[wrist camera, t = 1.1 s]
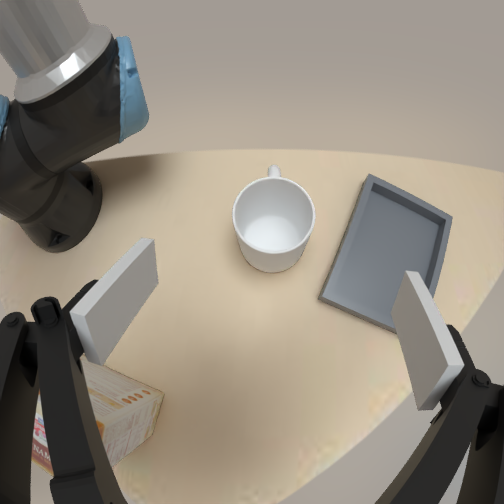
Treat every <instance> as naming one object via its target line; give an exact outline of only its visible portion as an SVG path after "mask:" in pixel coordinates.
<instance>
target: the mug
mask: <svg viewBox="0 0 504 504" xmlns="http://www.w3.org/2000/svg"><path fill="white" fill-rule="evenodd" d="M232 220H233V225H234V228H235V232H236V235H237V238H238V242H239V245H240V249H241V251H242V254H243V256H244V257H245V259H246V260H247V261H248V262H249V263H250V264H251V265H252V266H253V267H255V268H256V269H258V270H261V271H264V272H269V273H276V272H281V271H284V270H286V269H288V268H290V267H292V266H293V265H294V264H295V263H296V262H297V261H298V260H299V258H300V257H301V255H302V253H303V251H304V249H305V246H306V244H307V242H308V239H309V237H310V235H311V233H312V230H313V227H314V224H315V208H314V204H313V202H312V199H311V198H310V196H309V195H308V193H307V192H306V191H305V190H304V189H303V188H302V187H301V186H300V185H299V184H297V183H295V182H294V181H292V180H289V179H286V178H282V177H281V172H280V168H279V167H278V166H277V165H271V166H270V167H269V168H268V177H264V178H260V179H258V180H255V181H253V182H251V183H250V184H248V185H247V186H246V187H245V188H243V189H242V191H241V192H240V193H239V194H238V196H237V198H236V200H235V202H234V205H233V210H232Z"/></svg>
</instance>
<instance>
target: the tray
mask: <svg viewBox="0 0 504 504" xmlns="http://www.w3.org/2000/svg"><path fill="white" fill-rule="evenodd" d="M452 218H453V217H452V216H450V215H448V214H447V213H445V212H443V211H441V210H439V209H438V208H436V207H434V206H432V205H430V204H429V203H427V202H425V201H423V200H421V199H419V198H417V197H415V196H414V195H412V194H410V193H408V192H406V191H404V190H402V189H400V188H398V187H396V186H394V185H392V184H390V183H388V182H386V181H384V180H382V179H380V178H377V177H375V176H373V175H371V174H368V176H367V178H366V179H365V181H364V183H363V185H362V188H361V191H360V193H359V196H358V199H357V202H356V205H355V207H354V210H353V213H352V216H351V218H350V221H349V224H348V226H347V229H346V231H345V234H344V237H343V239H342V242H341V244H340V247H339V249H338V252H337V254H336V257H335V259H334V262H333V264H332V267H331V269H330V272H329V274H328V276H327V279H326V281H325V284H324V286H323V288H322V291H321V293H320V295H319V298H318V300H321V301H323V302H325V303H327V304H330V305H332V306H334V307H336V308H339V309H341V310H343V311H345V312H348V313H350V314H352V315H354V316H357V317H359V318H361V319H363V320H366V321H368V322H370V323H373V324H375V325H377V326H379V327H382V328H384V329H386V330H389V331H391V332H393V333H396V334H397V332H396V328H395V325H394V322H393V319H392V316H391V311H392V308H393V305H394V303H395V300H396V297H397V294H398V291H399V288H400V286H401V283H402V280H403V277H404V274H405V271H414V272H418V273H419V274H420V276H421V278H422V280H423V282H424V283H425V285H426V287H427V289H428V291H429V292H430V294H431V296H432V298H433V297H434V294H435V290H436V287H437V283H438V280H439V276H440V272H441V268H442V264H443V260H444V256H445V252H446V247H447V243H448V238H449V233H450V228H451V223H452Z"/></svg>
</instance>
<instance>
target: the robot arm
mask: <svg viewBox="0 0 504 504" xmlns="http://www.w3.org/2000/svg"><path fill="white" fill-rule="evenodd" d="M0 53H1V55H2V56H3V57H4V59H5V60H6V62H7V63H8V64H9V66H10V67H11V68H12V70H13V71H14V72H15V74H16V75H17V81H16V85H15V91H14V96H15V100H13V101H12V102H10V101H9V99H8V97H6V96H5V97H4V96H3V95H0V213H1V214H3V215H5V216H6V217H8V218H10V219H12V220H14V221H16V222H18V223H19V225H20V226H21V227H22V229H23V230H24V231H25V233H26V234H27V235H28V236H29V238H30V239H31V240H32V241H33V242H34V243H35V244H36V245H37V246H39V247H41V248H43V249H45V250H47V251H50V252H62V251H65V250H68V249H70V248H72V247H74V246H75V245H77V244H78V243H79V242H80V241H81V240H82V239H83V238H84V237H85V236H86V235H87V234H88V232H89V231H90V230H91V228H92V227H93V225H94V223H95V221H96V219H97V217H98V214H99V211H100V207H101V202H102V187H101V183H100V181H99V178H98V177H97V175H96V174H95V173H94V172H93V171H92V170H91V169H90V168H89V167H88V166H87V165H85V164H84V163H82V161H83V160H85V159H87V158H89V157H91V156H93V155H95V154H97V153H99V152H101V151H103V150H105V149H107V148H109V147H111V146H113V145H115V144H117V143H121V142H122V141H123V140H124V139H125V138H127V137H129V136H131V135H133V134H135V133H137V132H139V131H141V130H142V129H143V128H144V127H145V126H146V124H147V122H148V119H149V112H148V108H147V104H146V101H145V97H144V93H143V90H142V86H141V82H140V79H139V75H138V71H137V66H136V62H135V58H134V54H133V50H132V46H131V41H130V38H129V37H127V36H124V37H117V38H116V39H115V40H114V38H113V36H112V34H111V32H110V30H109V28H108V27H106V26H104V25H98V24H91V23H89V22H88V20H87V18H86V15H85V13H84V11H83V9H82V7H81V5H80V3H79V1H78V0H0ZM157 285H158V275H157V265H156V255H155V244H154V239H147V238H141V239H140V240H139V241H138V242H136V243H135V244H134V245H133V246H132V247H131V248H130V249H129V250H128V251H127V252H126V253H125V254H124V255H123V256H122V257H121V258H120V259H119V260H118V261H117V262H116V263H115V264H114V265H113V266H112V267H111V268H110V269H109V270H108V271H107V272H106V273H105V274H104V276H103V277H102V278H101V279H100V280H93V281H91V282H89V283H87V284H86V285H85V286H84V287H83V288H82V289H81V290H80V292H78V293H77V294H76V295H75V297H73V298H72V299H71V300H70V301H69V302H68V304H67V305H66V306H65V307H64V308H63V309H62V310H61V307H60V304H59V301H58V299H56V298H55V297H44V298H41V299H39V300H37V301H36V302H35V303H34V304H33V305H32V307H31V312H32V315H33V317H34V320H35V322H27V321H26V319H25V317H24V315H23V314H22V313H21V312H13V313H10V314H8V315H7V316H5V317H4V318H3V320H2V321H1V323H0V504H30V483H31V482H30V481H31V457H32V443H33V432H34V423H35V415H36V408H37V401H38V395H39V389H40V399H41V407H42V415H43V422H44V429H45V435H46V440H47V446H48V451H49V456H50V460H51V465H52V469H53V474H54V478H53V479H51V480H50V490H51V493H52V497H53V501H54V504H128V503H127V502H126V500H125V499H124V497H123V495H122V493H121V490H120V488H119V485H118V483H117V480H116V478H115V475H114V473H113V470H112V467H111V465H110V462H109V459H108V456H107V454H106V451H105V448H104V445H103V442H102V439H101V435H100V432H99V429H98V426H97V422H96V419H95V415H94V412H93V408H92V404H91V401H90V397H89V393H88V388H87V384H86V380H85V375H84V371H83V366H82V362H81V360H80V357H81V356H82V354H83V353H85V356H86V358H87V361H88V362H91V363H94V364H97V365H100V366H102V365H103V364H104V362H105V361H106V359H107V358H108V356H109V355H110V353H111V352H112V350H113V349H114V347H115V346H116V344H117V343H118V341H119V340H120V338H121V337H122V335H123V334H124V332H125V331H126V329H127V328H128V326H129V325H130V323H131V322H132V320H133V319H134V317H135V316H136V314H137V313H138V312H139V310H140V309H141V307H142V306H143V304H144V303H145V301H146V300H147V299H148V297H149V296H150V294H151V293H152V292H153V290H154V289H155V287H156V286H157ZM391 316H392V319H393V322H394V325H395V328H396V332H397V335H398V338H399V341H400V345H401V348H402V352H403V355H404V358H405V362H406V366H407V369H408V373H409V377H410V381H411V384H412V388H413V392H414V396H415V400H416V405H417V409H418V411H419V410H433V409H434V408H435V406H436V405H437V404H438V402H439V401H440V404H441V407H442V409H441V410H440V411H439V412H438V414H437V415H436V416H435V417H434V418H433V420H432V421H431V422H430V423H431V426H430V428H429V429H428V431H427V432H426V434H425V436H424V437H423V439H422V440H421V442H420V443H419V445H418V446H417V448H416V449H415V451H414V452H413V454H412V455H411V457H410V458H409V460H408V461H407V463H406V464H405V465H404V467H403V468H402V470H401V471H400V472H399V474H398V475H397V476H396V478H395V479H394V480H393V482H392V483H391V484H390V485H389V487H388V488H387V489H386V490H385V492H384V493H383V494H382V496H381V497H380V498H379V499H378V500H377V501H376V503H375V504H438V503H439V502H440V500H441V498H442V497H443V495H444V493H445V492H446V490H447V488H448V486H449V485H450V483H451V481H452V479H453V477H454V475H455V473H456V472H457V470H458V467H459V466H460V464H461V462H462V460H463V458H464V455H465V453H466V451H467V449H468V447H469V445H470V442H471V445H470V450H469V455H468V460H467V465H466V469H465V474H464V478H463V482H462V486H461V490H460V493H459V497H458V500H457V503H456V504H504V386H501V385H497V384H493V383H491V380H490V378H489V377H488V375H487V374H486V373H484V372H483V371H481V370H478V369H476V368H475V366H474V364H473V361H472V359H471V357H470V355H469V353H468V351H467V349H466V348H465V347H466V346H465V345H464V342H462V338H461V336H460V334H459V332H458V331H457V330H456V329H455V328H454V327H453V326H452V325H446V324H445V322H444V320H443V318H442V316H441V314H440V312H439V310H438V308H437V306H436V304H435V302H434V300H433V298H432V296H431V294H430V292H429V291H428V289H427V287H426V285H425V283H424V282H423V280H422V278H421V276H420V274H419V273H418V272H414V271H405V274H404V277H403V280H402V283H401V286H400V288H399V291H398V294H397V297H396V300H395V303H394V305H393V308H392V311H391Z"/></svg>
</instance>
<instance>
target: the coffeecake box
mask: <svg viewBox="0 0 504 504" xmlns="http://www.w3.org/2000/svg"><path fill="white" fill-rule="evenodd" d="M80 360H81V362H82V366H83V371H84V375H85V380H86V384H87V388H88V393H89V397H90V401H91V404H92V408H93V412H94V415H95V419H96V422H97V426H98V429H99V432H100V435H101V439H102V442H103V445H104V448H105V451H106V454H107V456H108V459H109V462H110V465H111V467H113V466H114V465H115V464H116V463H118V462H119V461H120V460H122V459H123V458H124V457H125V456H127V455H128V454H129V453H131V452H132V451H133V450H134V449H135V448H137V447H138V446H139V445H140V444H142V443H143V442H144V441H145V440H147V439H148V438H149V437H150V436H151V435H152V434H153V431H154V427H155V423H156V419H157V416H158V413H159V410H160V406H161V403H162V399H163V396H164V393H163V392H161V391H158V390H156V389H154V388H151V387H149V386H147V385H145V384H142V383H140V382H138V381H135V380H133V379H131V378H129V377H126V376H124V375H122V374H120V373H118V372H116V371H114V370H112V369H110V368H108V367H106V366H103V365H102V366H100V365H97V364H94V363H91V362H88V361H87V358H86V356H84V355H82V356H81V357H80ZM31 461H32V462H33V463H35V464H36V465H37V466H39V467H40V468H41V469H43V470H44V471H45V472H47V473H48V474H50V475H51V476H53V477H54V474H53V469H52V465H51V460H50V456H49V451H48V446H47V440H46V435H45V429H44V422H43V415H42V407H41V399H40V389H39V395H38V401H37V408H36V415H35V423H34V432H33V443H32V457H31Z"/></svg>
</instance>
